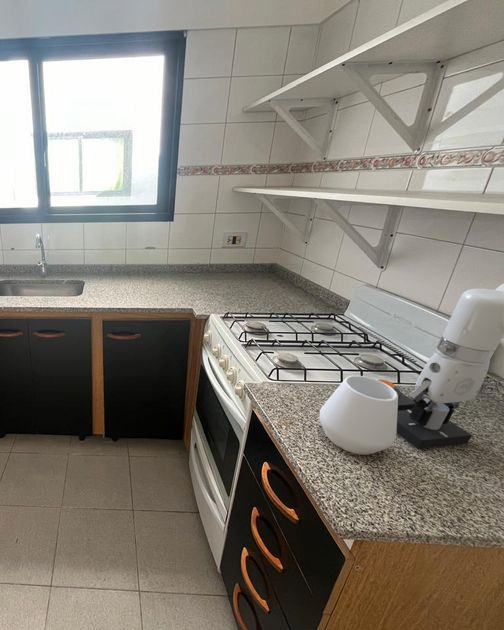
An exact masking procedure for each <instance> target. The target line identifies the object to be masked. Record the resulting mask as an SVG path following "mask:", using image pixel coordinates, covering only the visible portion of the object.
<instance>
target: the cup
mask: <svg viewBox="0 0 504 630" xmlns="http://www.w3.org/2000/svg"><path fill="white" fill-rule="evenodd" d="M378 380H379V379H376V378H373V377H369V376H364V375H355V374H354V375H349V376H346V378H344V380H343V381H342V382H341V383H340V384H339V385H338V387H337V388H336V389H335V390H334V392H333V393H332V394H331V395H330V396H329V397H328V399H327V400H326V401H325V402H324V404H323V405H322V406H321V407H320V409H319V422H320V424H321V427H322V430H323V432H324V433H325V435H326V437H327V438H328V440H329V441H331V443H333V444H334V445H335V446H336V447H338V448H340V449H342V450H344V451H346V452H349V453H351V454H355V455H362V456H368V455H372V454H375V453H378V452H382V451H384V450H387V449H389V448H390V447H391V446H392V445H393V444H394V443H395V441H396V440H397V433H396V430H397V409H398V395H397V392H396V391H395V390H394V389H393V388H392V387H390V386H388V385H387V384H385V383H383V382H381V381H378Z"/></svg>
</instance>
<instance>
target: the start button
mask: <svg viewBox="0 0 504 630" xmlns="http://www.w3.org/2000/svg"><path fill="white" fill-rule="evenodd" d="M377 380H378V381H381V382H383V383H385V384H387V385H388V386H390V387H392V388H393V389H395V387H396V384H394V383H393V382H391V381H389V380H387V379H386V380H385V379H377Z"/></svg>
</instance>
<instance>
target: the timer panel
mask: <svg viewBox="0 0 504 630" xmlns="http://www.w3.org/2000/svg"><path fill="white" fill-rule="evenodd" d="M412 410H413V409H412ZM412 410H402V411H397V430H396V434H397V435H399V436H400V437H402V438H403V439H404V440H405V441H407V442H408V443H409V444H411V445H412V446H413V447H414V448H416V449H417V450H423V449H430V448H431V449H432V448H441V447H450V446H459V445H468V443H469V442H470V440H471V438H472V436H473V434H471V433H470V432H469V431H467V430H465V429H464V428H462V427H461V426H458V424H456V423H454V422H453V421H450V420H449V421H448V423H447V424H443V423H442V425H441V427H440V429H438V430H432V429H428V428H425V427H423V426H421V425H419V424H418V423H416V422H415V421H414V420H412V419H411V418H410V417H409V416H410V414H411V412H412Z"/></svg>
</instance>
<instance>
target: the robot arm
mask: <svg viewBox="0 0 504 630" xmlns="http://www.w3.org/2000/svg"><path fill="white" fill-rule="evenodd" d="M503 337H504V282H503V283H502V284H500V285H499V286H498V287H496V288H495V289H491V288H482V287H481V288H477V287H476V288H470V289H469V288H468V289H467V290H465V291H464V292H462V294H461V295H460V297H459V299H458V301H457V303H456V306H455V307H454V310H453V312H452V314H451V316H450V318H449V320H448V322H447V324H446V326H445V329H444V331H443V333H442V335H441V337H440V338H439V341H438V343H437V346H436V347H435V351H434V352H433V354H432V355H431V357H430V358H429V359H428V360H427V362H426V364H425V366H424V367H423V368H422V370H421V372H420V374H419V376H418V378H417V380H416V383H415V385H414V389H413V390H412V391H411V392H410V393H408V397H409V398H411V399H412V400H413V401H414V404H415V405H414V408H413V410H412V412H411V414H410V416H409V417H410V418H411V419H412V420H414V421H415V422H417V423H418V424H420V425H421V426H426V424H427V422H428V420H429V418H430V416H431V415H432V413H433V412H432V411H430V410H431V409H432V408H433V407H434V405H435V404H436V403H443V404H445V405H446V406H448V407H449V412H448V414H447V416H446V418H445V419H444V421H443V424H447V423H448V421H450V420H451V418H452V416H453V414H454V412H455V410H458V408H459V407H460V404H461V403H463V402H469V401H473V400H475V399H476V397H477V395H478V394H479V392H480V391H481V388H482V386H483V385H484V381H485V379H486V376H487V374H488V371H489V368H490V363H491V359H492V357H493V355H494V353H495V351H496V350H497V348H498V346H499V345H500V343H501V341H502V339H503ZM424 399H429V400H430V401H429V402H428V404H427V403H426V401H425V400H424Z"/></svg>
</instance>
